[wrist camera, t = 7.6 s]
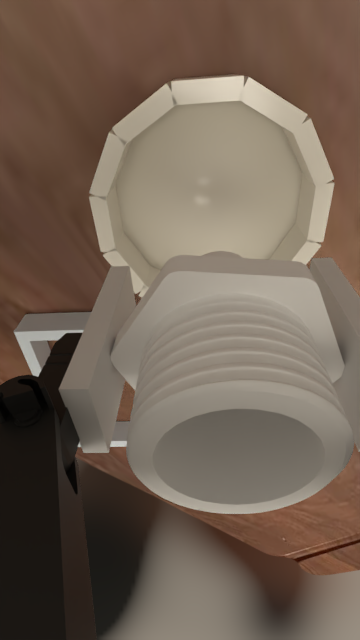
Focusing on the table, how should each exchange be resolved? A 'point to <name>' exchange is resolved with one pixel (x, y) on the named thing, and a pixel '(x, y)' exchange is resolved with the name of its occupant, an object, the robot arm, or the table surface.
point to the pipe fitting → (233, 385)
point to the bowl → (210, 178)
